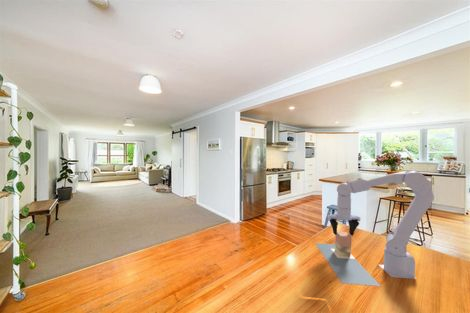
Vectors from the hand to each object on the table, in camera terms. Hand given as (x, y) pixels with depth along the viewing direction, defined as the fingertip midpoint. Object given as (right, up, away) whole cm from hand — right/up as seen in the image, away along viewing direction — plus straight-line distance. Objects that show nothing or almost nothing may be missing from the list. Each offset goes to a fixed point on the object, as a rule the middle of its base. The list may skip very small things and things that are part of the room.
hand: (343, 234), depth 89 cm
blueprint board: (-4, -11, -5) cm, 12 cm away
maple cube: (0, -10, 0) cm, 10 cm away
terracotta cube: (0, -5, 0) cm, 5 cm away
